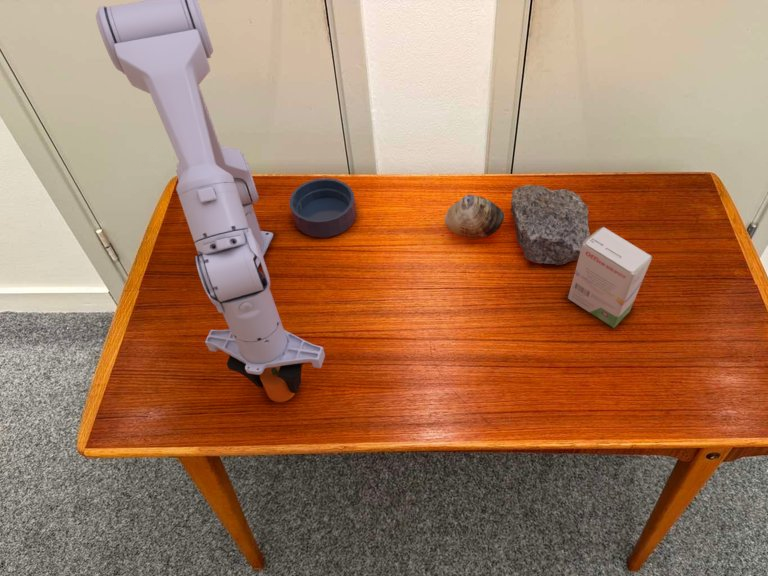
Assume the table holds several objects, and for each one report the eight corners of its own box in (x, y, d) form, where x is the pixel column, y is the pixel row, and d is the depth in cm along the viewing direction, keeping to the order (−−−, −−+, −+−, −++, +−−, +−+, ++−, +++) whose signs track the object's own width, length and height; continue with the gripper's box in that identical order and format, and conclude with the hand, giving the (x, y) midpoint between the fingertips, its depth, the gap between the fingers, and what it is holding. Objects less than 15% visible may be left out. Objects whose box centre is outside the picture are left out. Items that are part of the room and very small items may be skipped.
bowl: (285, 235, 103) (280, 217, 100) (305, 193, 109) (301, 174, 106) (347, 243, 102) (344, 225, 99) (363, 200, 108) (361, 182, 105)
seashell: (443, 246, 102) (443, 208, 95) (445, 221, 105) (445, 183, 99) (502, 248, 102) (506, 211, 95) (502, 223, 105) (506, 186, 98)
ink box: (566, 298, 95) (579, 243, 86) (586, 280, 98) (601, 224, 88) (613, 329, 92) (633, 275, 82) (633, 309, 94) (654, 254, 85)
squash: (262, 399, 85) (253, 379, 81) (272, 375, 87) (264, 354, 83) (291, 404, 84) (283, 384, 80) (300, 379, 87) (293, 359, 83)
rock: (589, 272, 99) (581, 208, 108) (598, 242, 94) (589, 178, 103) (509, 267, 99) (507, 204, 108) (513, 237, 94) (512, 173, 103)
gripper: (181, 340, 72) (216, 400, 83) (303, 359, 71) (322, 418, 82) (206, 294, 76) (236, 357, 87) (322, 311, 75) (338, 373, 86)
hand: (279, 384), depth 85 cm, fingers open, 4 cm apart
